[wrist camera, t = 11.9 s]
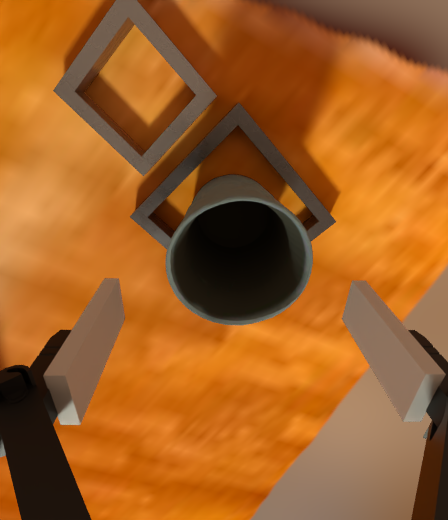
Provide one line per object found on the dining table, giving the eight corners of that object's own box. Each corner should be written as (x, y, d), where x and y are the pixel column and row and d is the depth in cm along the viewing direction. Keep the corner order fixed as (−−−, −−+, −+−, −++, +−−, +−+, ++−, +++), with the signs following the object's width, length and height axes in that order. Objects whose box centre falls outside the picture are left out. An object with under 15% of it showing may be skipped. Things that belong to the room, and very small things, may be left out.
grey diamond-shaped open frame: (64, 91, 26) (53, 90, 24) (132, -4, 23) (125, -14, 21) (148, 171, 29) (143, 176, 27) (217, 96, 26) (216, 95, 24)
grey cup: (170, 234, 32) (145, 297, 21) (209, 144, 28) (201, 167, 17) (253, 269, 34) (267, 343, 24) (300, 190, 30) (343, 236, 19)
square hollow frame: (135, 210, 31) (129, 216, 29) (237, 102, 26) (239, 102, 25) (229, 294, 36) (229, 304, 34) (329, 215, 31) (336, 221, 30)
